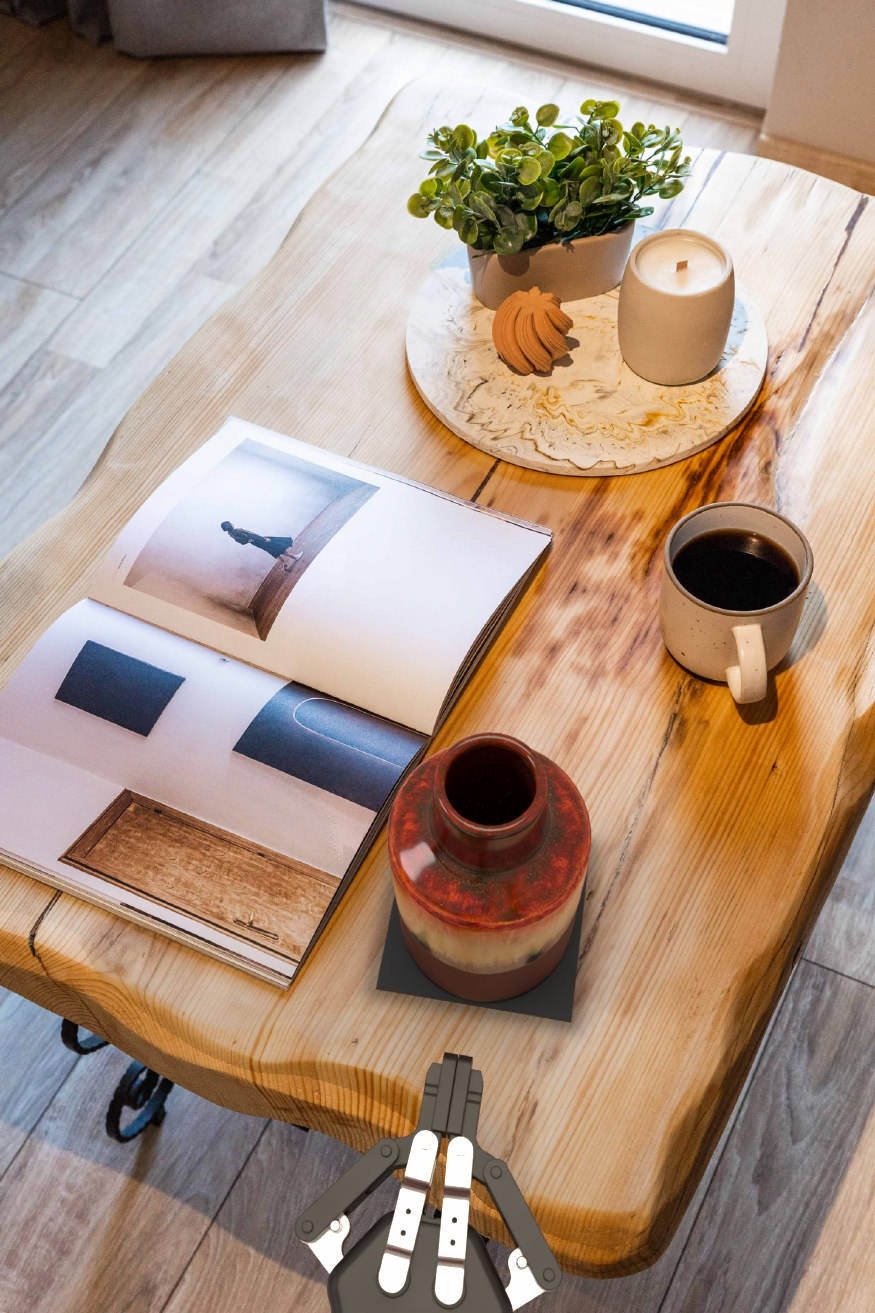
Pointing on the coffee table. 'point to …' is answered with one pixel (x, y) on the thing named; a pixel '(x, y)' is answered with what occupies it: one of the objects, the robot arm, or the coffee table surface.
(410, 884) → the vase
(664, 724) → the coffee table surface
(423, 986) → the coaster
